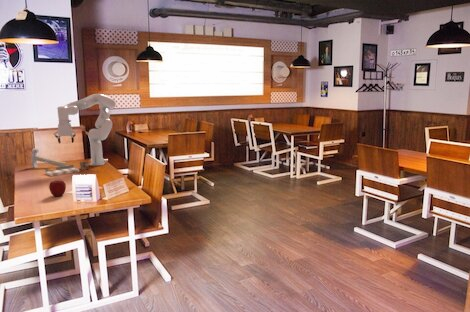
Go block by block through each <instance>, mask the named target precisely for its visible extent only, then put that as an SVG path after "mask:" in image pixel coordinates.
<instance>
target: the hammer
mask: <svg viewBox="0 0 470 312" xmlns="http://www.w3.org/2000/svg"><path fill="white" fill-rule="evenodd" d="M37 162H42V163H46V164H49V165H52V166H55V167H62V166H67V162H65V161H61V160H56V159H51V158H47V157H44V156H40V155H39V149H38V148H34V147H33V148H32V149H31V156H30V163H31V165H32V167H33V168H35V169H36V168H39V165H38V163H37Z"/></svg>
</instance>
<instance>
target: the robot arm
mask: <svg viewBox="0 0 470 312" xmlns="http://www.w3.org/2000/svg"><path fill="white" fill-rule="evenodd" d="M95 105H98V108H99V110H100V113H99V115H98V117H97V119H96V121H95V123H94V126H95V128H91V129H90V130H89V131H88V139H89V145H90V146H89V147H90V160H91V162H90V163H89V166H94V167H95V166H103V165H105V164H106V162H108V161H109V159H108V158H104V157H103V145H102V141H104V140H106V139H107V138H108V136H109V134H110V132H111V130H112V129H113V121H112V120H111V119H110V116H111V113H110V112H111V111H110V109H111V110H112V109H114V108H116V105H117V103H116V101H115V99H113V98H111V97H109V96H107V95H105V94H102V93H93V94H90V95H88V96H85V97H84V98H82V99H78V100H75V101H73V102H69V103H67V104H65V105H64V106H58V107H57V108H56V109H57V117H58V125H57V131H55V132H53V136H54V137H55V138H56V139H57V143H58V144H61V137H71V144H73V143H74V142H75V139H74V138H75V137H76V135H77V133H78V132H77V131H75V130H73V128H72V124H71V122H72V120H71V119H70V118H69V116H75V115H77V114H78V113H79V111H80V110H86V109H88V108H91V107H93V106H95Z"/></svg>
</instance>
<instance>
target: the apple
mask: <svg viewBox="0 0 470 312" xmlns="http://www.w3.org/2000/svg"><path fill="white" fill-rule="evenodd" d="M48 189H49V191H50V194H51V195H52V196H53V197H60V196H64V194H65V193H66V189H67V186H66V182H65V181H63V180H53V181H50V182H49V185H48Z"/></svg>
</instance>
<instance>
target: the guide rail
mask: <svg viewBox="0 0 470 312" xmlns="http://www.w3.org/2000/svg"><path fill="white" fill-rule="evenodd" d="M73 167H74V164H71V165H69V164H68V165H66V166H62V167H60V166H54V167H50V168H45V169H44V172H47V171H54V170H60V169H67V168H73ZM74 168H75V167H74Z"/></svg>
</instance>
